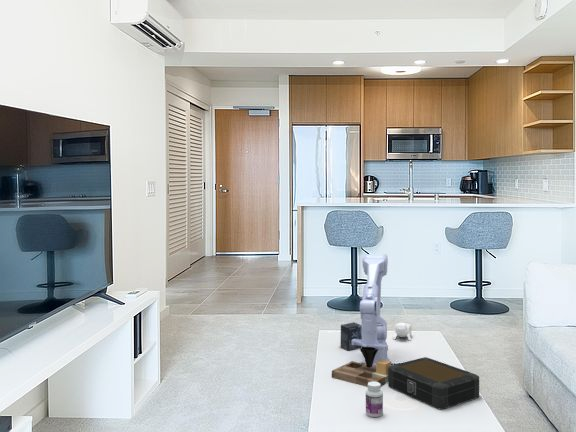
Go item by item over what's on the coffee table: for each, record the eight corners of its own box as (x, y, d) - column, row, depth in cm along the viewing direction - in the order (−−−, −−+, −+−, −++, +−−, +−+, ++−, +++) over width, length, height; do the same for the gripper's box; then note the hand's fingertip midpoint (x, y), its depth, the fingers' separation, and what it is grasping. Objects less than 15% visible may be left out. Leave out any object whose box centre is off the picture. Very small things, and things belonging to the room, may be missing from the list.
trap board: (352, 367, 205) (352, 361, 205) (395, 377, 193) (395, 371, 193) (331, 377, 195) (331, 370, 195) (376, 388, 183) (376, 381, 182)
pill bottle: (363, 410, 164) (363, 380, 164) (380, 410, 165) (380, 380, 164) (367, 418, 159) (367, 387, 159) (384, 417, 159) (384, 386, 159)
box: (348, 351, 226) (348, 327, 226) (340, 347, 231) (340, 324, 230) (362, 348, 231) (362, 324, 230) (353, 344, 235) (353, 321, 235)
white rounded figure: (394, 341, 251) (390, 337, 238) (395, 323, 254) (391, 319, 240) (412, 342, 248) (410, 339, 235) (413, 324, 251) (410, 320, 237)
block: (381, 369, 195) (381, 359, 194) (391, 372, 192) (391, 361, 192) (376, 372, 191) (376, 362, 191) (385, 375, 189) (385, 364, 189)
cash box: (385, 387, 185) (384, 366, 184) (425, 376, 195) (425, 355, 195) (439, 411, 163) (439, 387, 163) (481, 397, 174) (481, 375, 174)
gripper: (347, 330, 197) (347, 365, 197) (381, 336, 187) (381, 373, 188) (357, 326, 202) (357, 360, 203) (390, 332, 193) (390, 368, 193)
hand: (369, 366), depth 196 cm, fingers closed
